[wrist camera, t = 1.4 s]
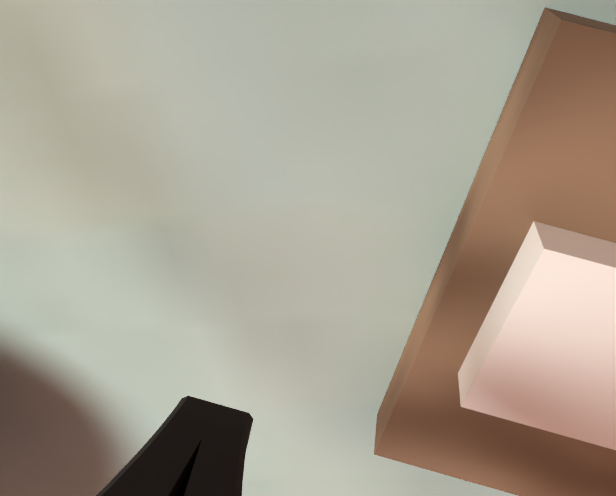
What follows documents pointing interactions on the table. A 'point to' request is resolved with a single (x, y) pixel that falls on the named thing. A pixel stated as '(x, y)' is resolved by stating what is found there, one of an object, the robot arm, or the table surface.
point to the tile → (550, 340)
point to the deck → (498, 259)
